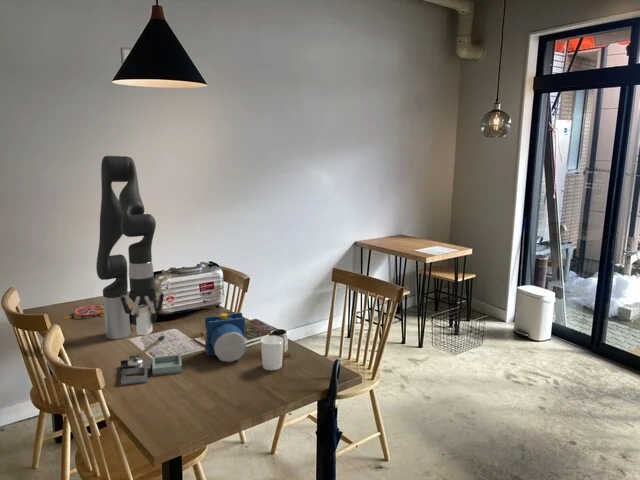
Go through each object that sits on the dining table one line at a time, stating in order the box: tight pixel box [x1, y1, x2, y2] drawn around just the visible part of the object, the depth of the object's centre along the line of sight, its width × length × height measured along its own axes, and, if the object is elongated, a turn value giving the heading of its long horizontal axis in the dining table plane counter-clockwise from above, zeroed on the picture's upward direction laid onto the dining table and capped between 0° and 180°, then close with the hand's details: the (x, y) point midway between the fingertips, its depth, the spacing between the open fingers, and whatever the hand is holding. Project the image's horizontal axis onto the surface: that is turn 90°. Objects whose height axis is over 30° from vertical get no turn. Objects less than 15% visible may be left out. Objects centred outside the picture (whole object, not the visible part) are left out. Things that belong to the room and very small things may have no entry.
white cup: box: [260, 335, 284, 371], centre depth 180 cm, size 8×8×10 cm
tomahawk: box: [129, 335, 165, 359], centre depth 196 cm, size 21×7×1 cm, turn 165°
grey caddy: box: [118, 357, 152, 386], centre depth 174 cm, size 15×10×4 cm, turn 17°
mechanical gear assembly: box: [63, 302, 134, 319], centre depth 235 cm, size 30×4×15 cm
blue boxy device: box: [203, 312, 247, 363], centre depth 188 cm, size 13×15×15 cm
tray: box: [151, 353, 183, 377], centre depth 179 cm, size 10×10×3 cm
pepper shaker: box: [135, 305, 153, 336], centre depth 171 cm, size 4×4×10 cm
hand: (144, 323), depth 171 cm, fingers closed on pepper shaker, 5 cm apart
